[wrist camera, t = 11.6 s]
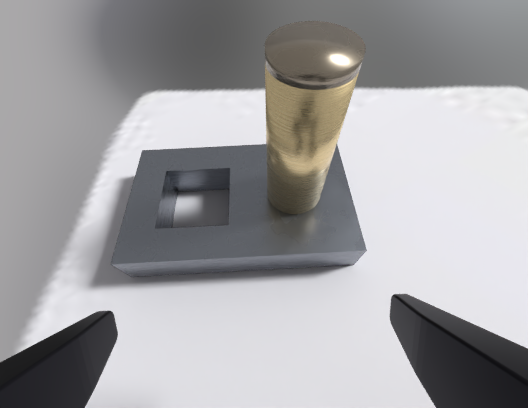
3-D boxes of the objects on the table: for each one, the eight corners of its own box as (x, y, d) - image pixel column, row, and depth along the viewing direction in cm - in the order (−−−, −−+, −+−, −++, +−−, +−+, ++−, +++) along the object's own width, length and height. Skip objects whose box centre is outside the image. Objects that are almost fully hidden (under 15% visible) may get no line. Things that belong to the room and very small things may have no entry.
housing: (353, 264, 23) (366, 250, 20) (131, 276, 22) (110, 264, 19) (329, 163, 29) (336, 140, 26) (155, 172, 29) (142, 150, 26)
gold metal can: (324, 212, 22) (378, 70, 11) (268, 215, 21) (267, 75, 11) (315, 169, 24) (352, 19, 13) (265, 171, 24) (262, 23, 13)
